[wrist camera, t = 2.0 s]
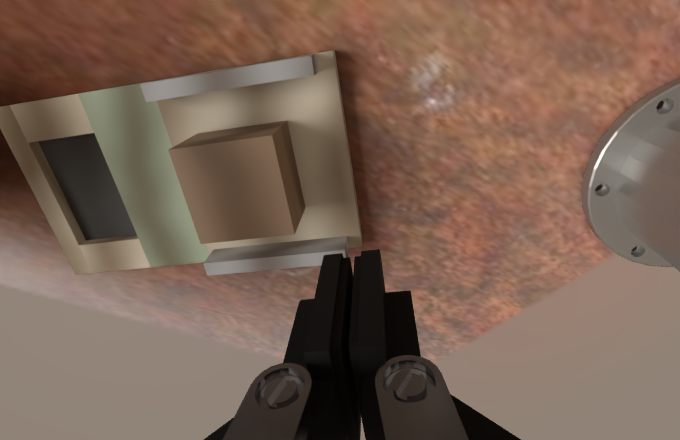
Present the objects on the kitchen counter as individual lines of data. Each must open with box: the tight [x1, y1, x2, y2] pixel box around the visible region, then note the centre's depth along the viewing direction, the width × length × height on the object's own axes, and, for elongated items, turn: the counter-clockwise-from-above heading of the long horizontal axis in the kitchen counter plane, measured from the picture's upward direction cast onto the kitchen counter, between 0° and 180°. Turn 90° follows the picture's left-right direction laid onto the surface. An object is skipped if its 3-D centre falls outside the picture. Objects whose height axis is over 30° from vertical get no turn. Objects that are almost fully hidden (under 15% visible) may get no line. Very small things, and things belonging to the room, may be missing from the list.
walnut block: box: [168, 120, 305, 244], centre depth 24 cm, size 6×6×4 cm
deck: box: [0, 50, 363, 276], centre depth 26 cm, size 23×13×3 cm, turn 99°
